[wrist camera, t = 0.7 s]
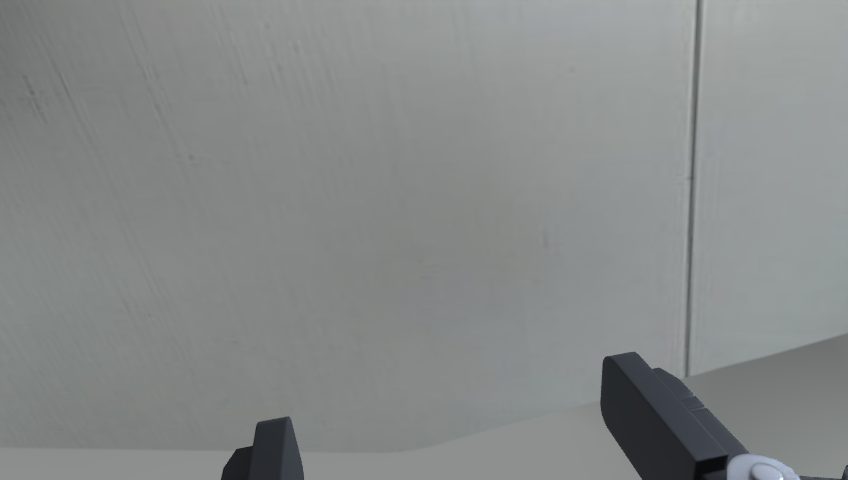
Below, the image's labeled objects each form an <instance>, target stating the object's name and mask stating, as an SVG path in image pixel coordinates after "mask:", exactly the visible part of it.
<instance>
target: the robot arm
mask: <svg viewBox="0 0 848 480" xmlns="http://www.w3.org/2000/svg"><path fill="white" fill-rule="evenodd" d="M600 404H601V411H602V416H603V419H604V421H605V424H606V426H607V428H608V429H609V431H610V432H611V434H612V435H613V437H614V438H615V440H616V441H617V443H618V444H619V446H620V447H621V449H622V450H623V451H624V453H625V454H626V456H627V458H628V459H629V461H630V462H631V463H632V465H633V466H634V468H635V469H636V471H637V472H638V474H639V475H640V477H641V478H642V480H848V465H847V466H846V468H845V470H844V473H843V476H842V479H833V478H819V477H806V476H798V475H797V473H796V472H795V471H793V470H792V469H791V468H790V467H788V466H787V465H785V464H784V463H782V462H780V461H778V460H776V459H773V458H771V457H768V456H764V455H760V454H751V453H749V452H748V451H747V450H746V449H745V448H744V446H743V445H742V444H741V443H740V442H739V441H738V440H737V439H736V438H735V437H734V436H733V435H732V434H731V433H730V432H729V431H728V430H727V429H726V428H725V427H724V426H723V425H722V424H721V422H719V420H718V419H717V418H716V417H715V416H714V415H713V414H712V413H711V412H710V411H709V410H708V409H707V408H706V409H705V407H704V405H703V404H702V403H701V402H700V401H699V399H698V398H697V397H696V396H693V393H692V392H691V391H690V390H689V389H688V388H687V387H686V386H685V385H684V384H683V383H682V382H681V381H680V380H679V379H678V378H676V377H675V376H673V375H671V374H669V373H668V372H666V371H664V370H662V369H661V368H655V369H651V368H650V367H649V366H648V364H647V363H646V362H645V361H644V360H643V359H642V358H641V357H640V356H639V355H638V354H637V353H636V352H629V353H623V354H618V355H613V356H607V357H605V358H604V360H603V368H602V385H601V403H600ZM221 480H304V473H303V467H302V462H301V457H300V453H299V449H298V445H297V441H296V437H295V433H294V429H293V425H292V421H291V419H290V417H289V416H288V417H283V418H278V419H272V420H267V421H261V422H258V423H257V425H256V431H255V437H254V443H253V446H250V447H245V448H240V449H236V451H235V452H234V454H233V455H232V457H231V458H230V459H229V461H228V462H227V464H226V465H225V467H224V469H223V474H222V477H221Z"/></svg>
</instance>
